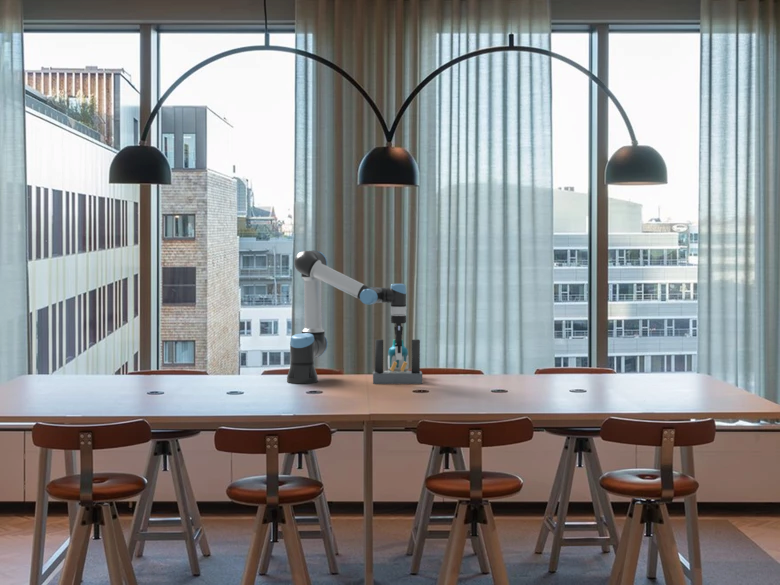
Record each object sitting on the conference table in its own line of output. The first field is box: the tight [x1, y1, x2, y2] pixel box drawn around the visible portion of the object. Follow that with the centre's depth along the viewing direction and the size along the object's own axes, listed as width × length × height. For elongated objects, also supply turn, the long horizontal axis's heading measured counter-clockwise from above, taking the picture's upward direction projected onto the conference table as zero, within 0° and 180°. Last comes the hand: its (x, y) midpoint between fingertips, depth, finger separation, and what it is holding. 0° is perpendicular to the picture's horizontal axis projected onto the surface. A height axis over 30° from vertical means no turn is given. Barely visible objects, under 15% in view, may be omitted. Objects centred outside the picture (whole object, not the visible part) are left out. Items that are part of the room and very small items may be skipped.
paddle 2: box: [400, 361, 407, 371], centre depth 467 cm, size 2×3×4 cm, turn 2°
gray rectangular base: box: [372, 370, 423, 385], centre depth 467 cm, size 24×10×5 cm, turn 91°
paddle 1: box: [390, 361, 397, 371], centre depth 467 cm, size 2×3×4 cm, turn 2°
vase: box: [387, 338, 409, 371], centre depth 487 cm, size 11×11×19 cm
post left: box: [374, 339, 384, 373], centre depth 467 cm, size 4×4×16 cm
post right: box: [411, 338, 421, 373], centre depth 467 cm, size 4×4×16 cm
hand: (398, 358), depth 467 cm, fingers open, 13 cm apart
